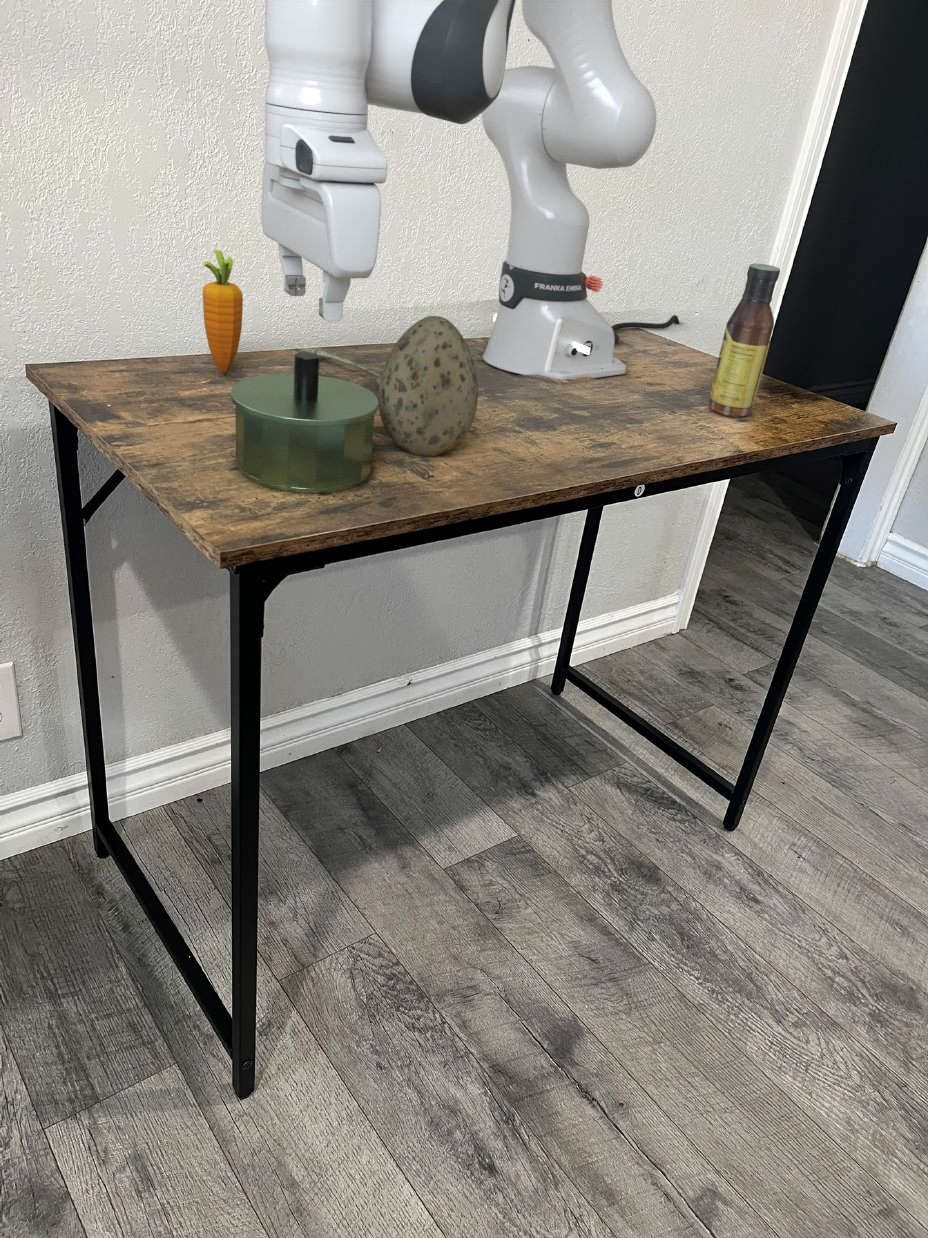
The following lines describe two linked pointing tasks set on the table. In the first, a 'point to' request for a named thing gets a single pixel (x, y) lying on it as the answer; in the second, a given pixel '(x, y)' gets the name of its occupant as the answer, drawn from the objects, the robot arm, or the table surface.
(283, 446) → the pot
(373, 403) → the pot lid
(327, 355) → the soupspoon
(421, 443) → the decorative egg
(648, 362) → the table surface
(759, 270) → the sauce bottle
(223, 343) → the carrot
